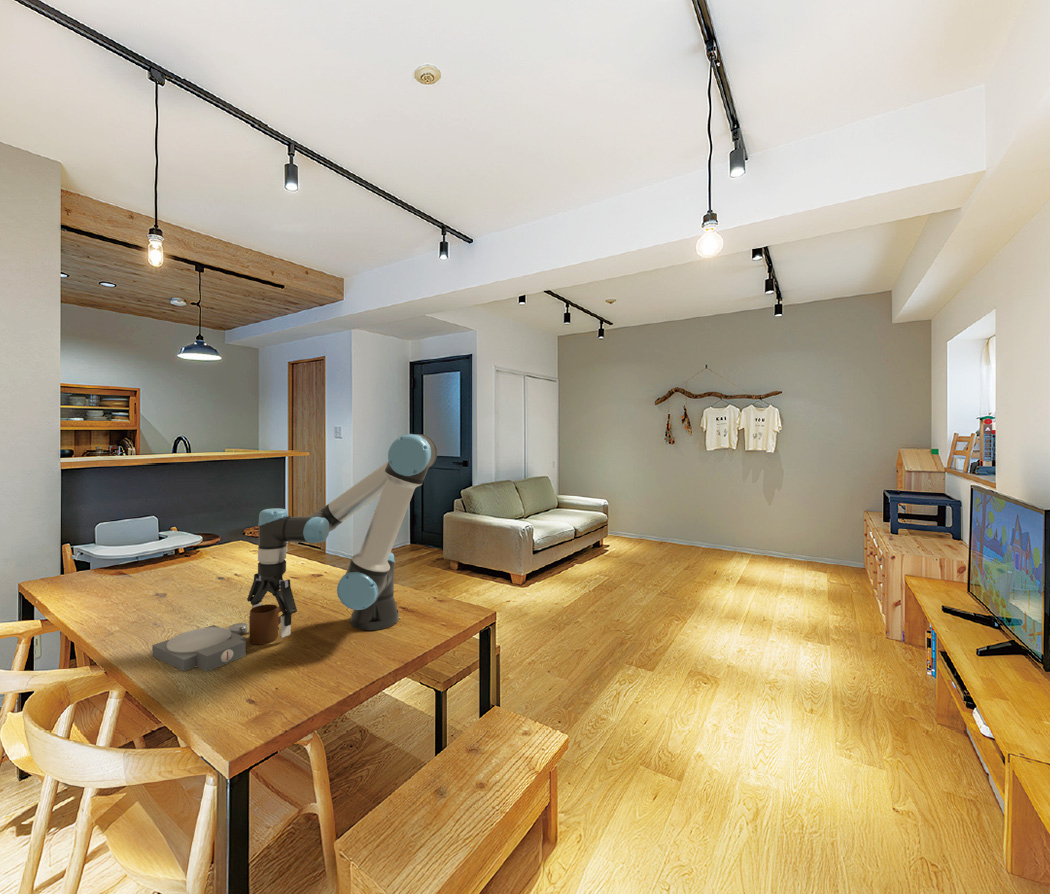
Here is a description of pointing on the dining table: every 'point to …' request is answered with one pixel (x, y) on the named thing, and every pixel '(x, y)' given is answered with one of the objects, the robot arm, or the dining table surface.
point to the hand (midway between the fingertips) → (271, 630)
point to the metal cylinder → (238, 628)
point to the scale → (201, 648)
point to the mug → (264, 624)
